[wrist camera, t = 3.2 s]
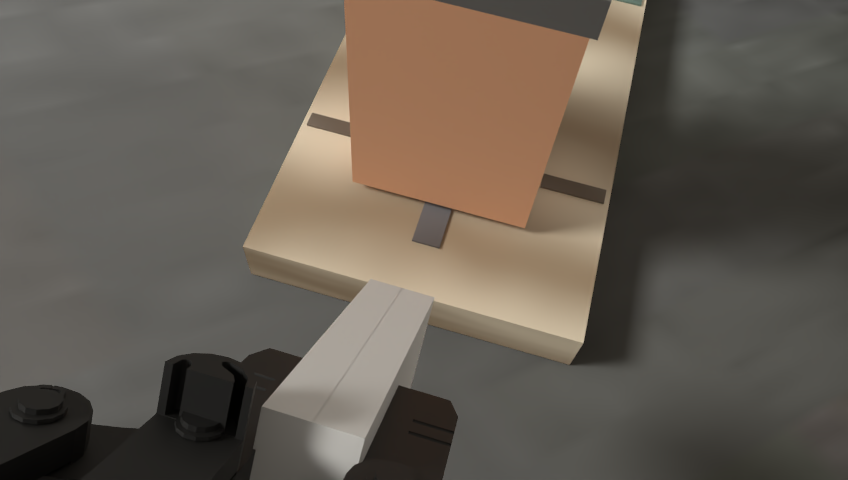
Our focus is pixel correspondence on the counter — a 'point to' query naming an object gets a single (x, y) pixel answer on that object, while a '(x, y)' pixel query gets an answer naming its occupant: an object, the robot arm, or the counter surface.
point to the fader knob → (463, 96)
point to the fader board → (459, 217)
